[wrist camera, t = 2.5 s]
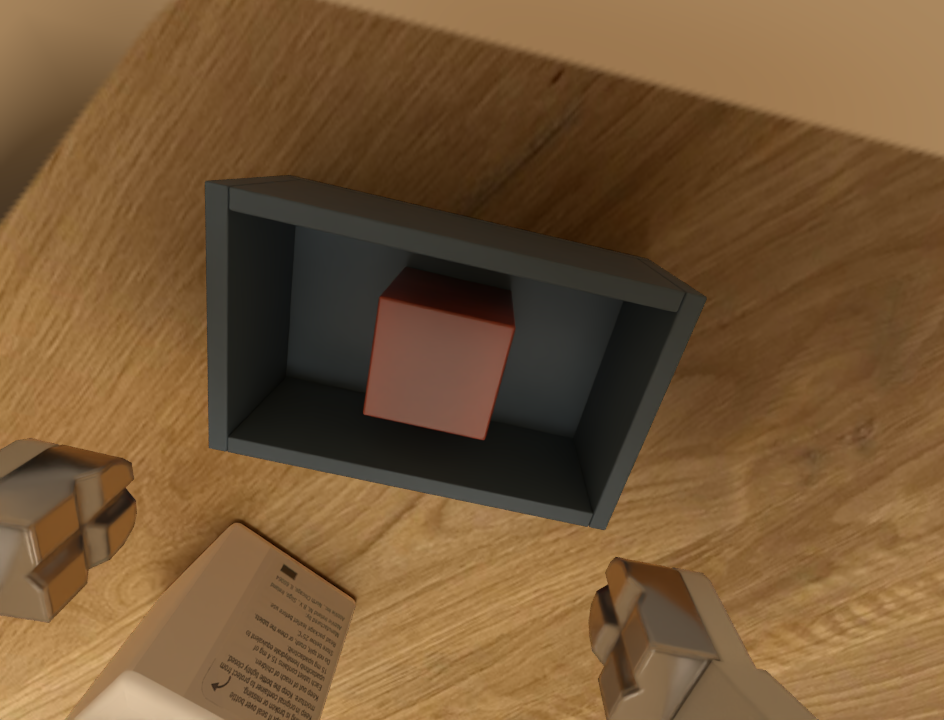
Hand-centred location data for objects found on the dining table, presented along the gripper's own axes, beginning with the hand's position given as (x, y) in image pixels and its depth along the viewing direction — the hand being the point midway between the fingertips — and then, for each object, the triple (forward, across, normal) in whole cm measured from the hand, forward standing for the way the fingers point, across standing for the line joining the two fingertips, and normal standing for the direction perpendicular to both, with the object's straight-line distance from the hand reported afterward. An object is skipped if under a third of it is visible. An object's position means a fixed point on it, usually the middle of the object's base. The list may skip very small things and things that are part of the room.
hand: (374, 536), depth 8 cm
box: (+11, 0, 0) cm, 11 cm away
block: (+11, 0, 0) cm, 11 cm away
